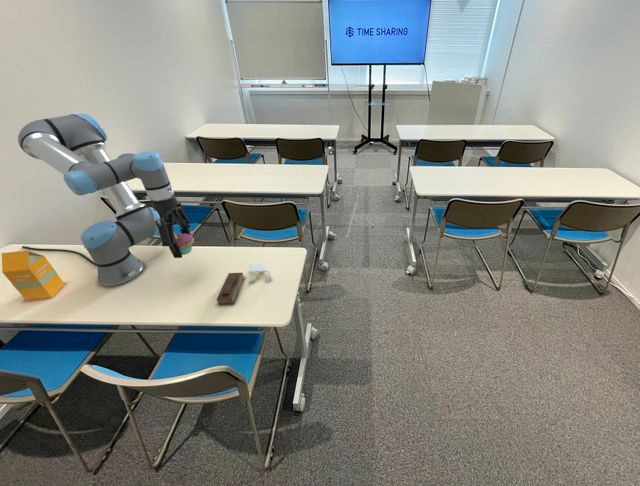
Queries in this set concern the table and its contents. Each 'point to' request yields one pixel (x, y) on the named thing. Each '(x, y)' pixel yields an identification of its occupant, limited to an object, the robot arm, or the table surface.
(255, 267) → the origami figure
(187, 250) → the cupcake
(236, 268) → the table surface
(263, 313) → the table surface
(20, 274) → the orange juice
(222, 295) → the brown rectangular panel
